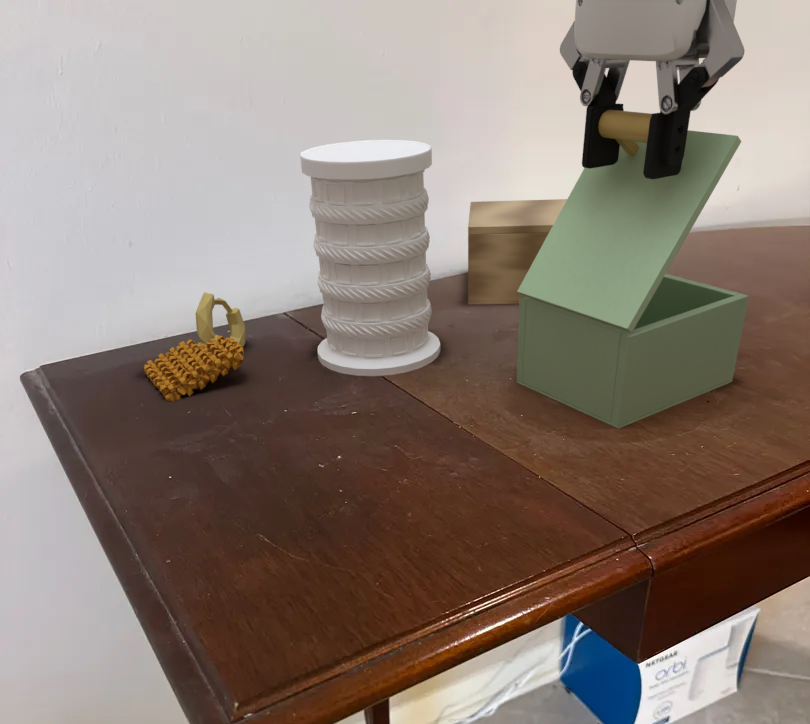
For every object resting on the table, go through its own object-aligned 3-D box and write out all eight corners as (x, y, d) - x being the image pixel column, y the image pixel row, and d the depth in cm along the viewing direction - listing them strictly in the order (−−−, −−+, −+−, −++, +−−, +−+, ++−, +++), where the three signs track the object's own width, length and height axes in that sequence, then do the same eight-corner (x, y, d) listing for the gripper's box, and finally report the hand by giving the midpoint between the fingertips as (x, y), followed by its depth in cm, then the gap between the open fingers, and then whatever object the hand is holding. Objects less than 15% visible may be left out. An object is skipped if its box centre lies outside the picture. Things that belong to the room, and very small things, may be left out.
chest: (625, 350, 76) (635, 265, 72) (731, 388, 68) (749, 295, 64) (515, 388, 70) (519, 298, 65) (617, 435, 62) (628, 336, 57)
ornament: (199, 357, 65) (265, 265, 75) (98, 374, 69) (173, 284, 79) (237, 424, 69) (294, 328, 79) (139, 436, 73) (206, 344, 83)
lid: (613, 126, 63) (581, 87, 60) (741, 141, 55) (713, 96, 52) (521, 295, 65) (485, 266, 62) (631, 333, 57) (597, 302, 54)
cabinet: (586, 275, 96) (592, 198, 91) (596, 307, 86) (604, 223, 81) (470, 278, 97) (470, 201, 92) (468, 309, 87) (468, 226, 83)
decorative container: (300, 351, 79) (275, 149, 69) (405, 328, 83) (396, 134, 73) (348, 392, 71) (328, 168, 61) (463, 364, 75) (462, 150, 65)
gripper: (840, -180, 44) (765, 180, 54) (606, -137, 56) (581, 152, 66) (754, -192, 41) (692, 195, 51) (524, -144, 52) (511, 163, 62)
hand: (629, 168), depth 58 cm, fingers closed on lid, 5 cm apart
